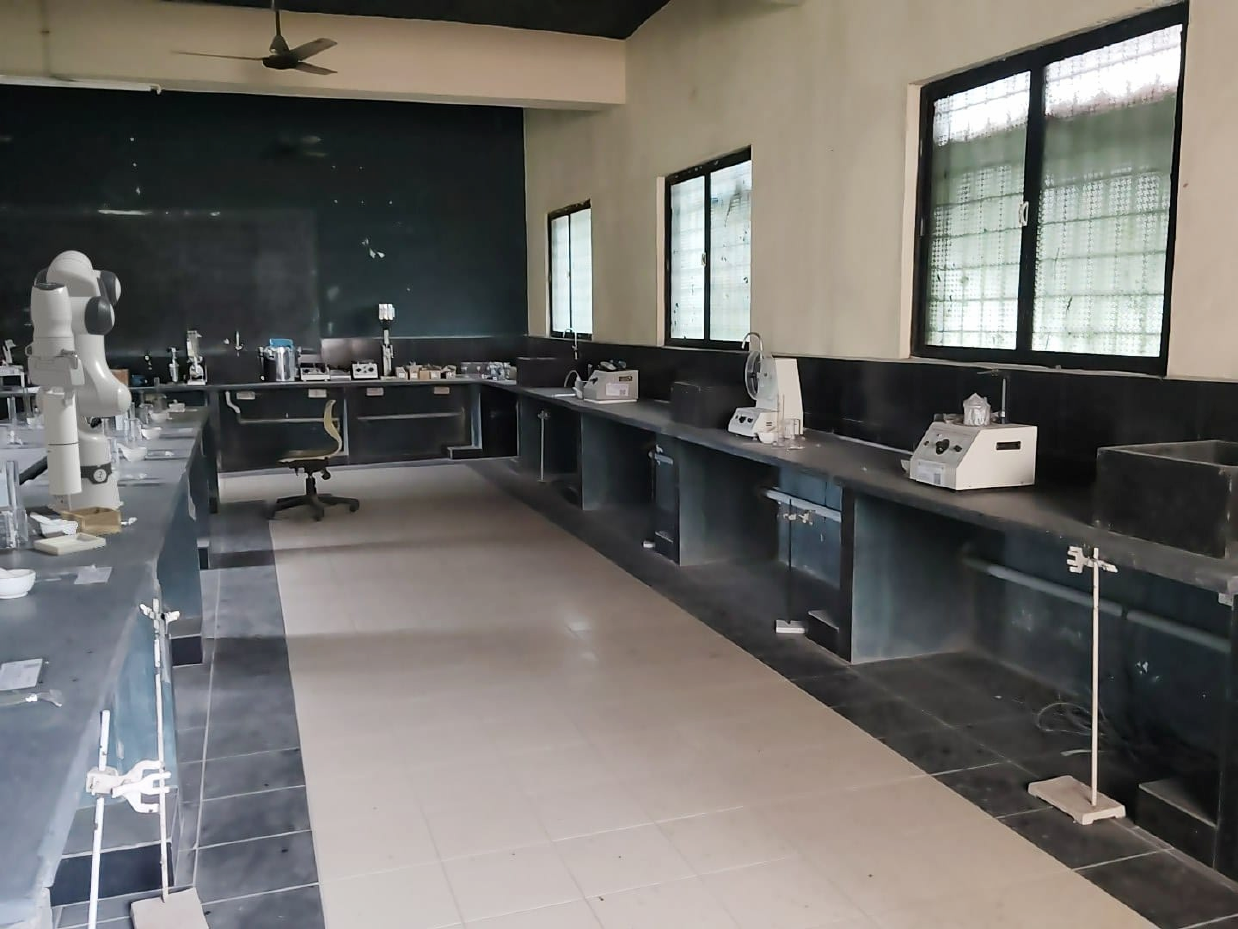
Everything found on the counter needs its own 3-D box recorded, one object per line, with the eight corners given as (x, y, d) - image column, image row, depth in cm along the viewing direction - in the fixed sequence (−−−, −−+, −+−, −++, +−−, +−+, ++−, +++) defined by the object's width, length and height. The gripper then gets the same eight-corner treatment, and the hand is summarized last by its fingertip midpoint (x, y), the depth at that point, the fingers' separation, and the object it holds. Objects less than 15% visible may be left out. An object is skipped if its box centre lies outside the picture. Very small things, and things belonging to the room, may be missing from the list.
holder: (62, 533, 275) (60, 512, 274) (101, 526, 284) (99, 505, 283) (83, 539, 269) (81, 517, 268) (121, 531, 278) (120, 510, 277)
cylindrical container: (68, 495, 254) (60, 395, 250) (43, 494, 255) (35, 394, 251) (88, 490, 261) (80, 393, 257) (63, 489, 262) (56, 392, 258)
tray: (34, 548, 259) (34, 541, 258) (81, 539, 268) (81, 532, 268) (58, 555, 252) (57, 547, 252) (106, 546, 262) (105, 538, 261)
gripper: (89, 349, 249) (93, 406, 251) (47, 347, 260) (51, 400, 263) (63, 350, 244) (67, 408, 246) (21, 348, 255) (26, 402, 258)
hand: (59, 404), depth 254 cm, fingers closed on cylindrical container, 7 cm apart
